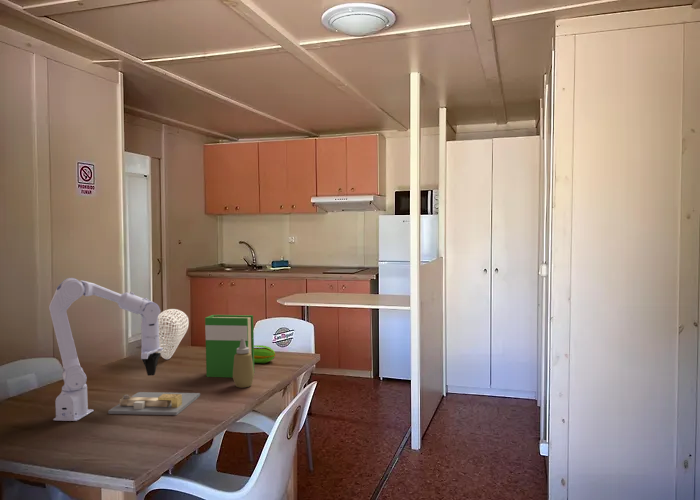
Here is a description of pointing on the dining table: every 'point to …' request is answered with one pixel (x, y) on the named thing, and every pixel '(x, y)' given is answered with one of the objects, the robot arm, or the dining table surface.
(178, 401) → the keeper
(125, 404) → the link
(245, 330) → the hardback book
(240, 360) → the squeeze bottle
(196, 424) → the dining table surface
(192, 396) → the base plate
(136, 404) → the block
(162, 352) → the heart
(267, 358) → the pencil case
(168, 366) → the dining table surface
